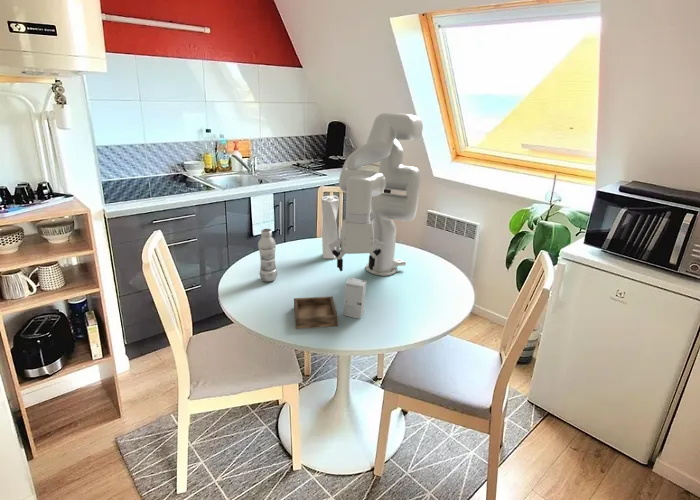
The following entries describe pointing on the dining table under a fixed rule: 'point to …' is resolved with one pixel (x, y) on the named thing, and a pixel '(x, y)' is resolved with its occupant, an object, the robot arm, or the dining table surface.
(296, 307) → the walnut tray
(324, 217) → the skyscraper
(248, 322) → the dining table surface
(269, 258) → the plastic bottle
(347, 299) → the skincare box
